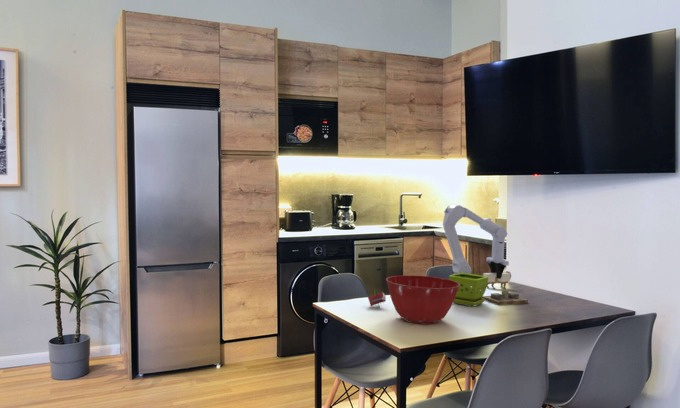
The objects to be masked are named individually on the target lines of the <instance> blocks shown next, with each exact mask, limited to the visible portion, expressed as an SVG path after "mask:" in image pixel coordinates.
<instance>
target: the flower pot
mask: <svg viewBox="0 0 680 408" xmlns="http://www.w3.org/2000/svg"><path fill="white" fill-rule="evenodd" d="M448 279H449V280H452V281H455V282H458V283H459V284H460V286H459V287H458V291H457V294H456V297H455V299H454V302H453V304H456V305H457V304H458V305H464V306H469V307H475V306H478V305H482V304H483V303H484V302H485V299H483V298H482V297H483V296H485V293H486V291H487V288H488V287H487V283H488V277H486V276H483V275H479V274H474V273H471V274H467V273H457V274H454V273H453V274H450V275H448Z"/></svg>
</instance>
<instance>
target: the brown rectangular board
mask: <svg viewBox="0 0 680 408" xmlns="http://www.w3.org/2000/svg"><path fill="white" fill-rule="evenodd" d="M482 298H483V299H485V300H484V302H489V303H491V304H495V305H497V306H502V305H503V306H506V305H519V304H520V305H523V304H528V303H529V299H527V298H522V297H520V294H519V293H516V292H509V290H507V289H502V290H501V293H498V292H496V293H495V292H494V293H490V295H483V297H482Z"/></svg>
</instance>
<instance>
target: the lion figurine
mask: <svg viewBox="0 0 680 408" xmlns="http://www.w3.org/2000/svg"><path fill="white" fill-rule="evenodd" d="M503 273H510V280H511V278H512V274H511V272H510V271H503ZM495 283H497V284H500V288H501V289H503V290H507V287H506V286H507V284H508V283H509V282H500V281H498V279H497V277H495V282H488V283H487V287H486V288H489V287H490V286H489V284H491V287H492V289H493V290H495V289H496V287H494V285H495Z"/></svg>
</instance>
